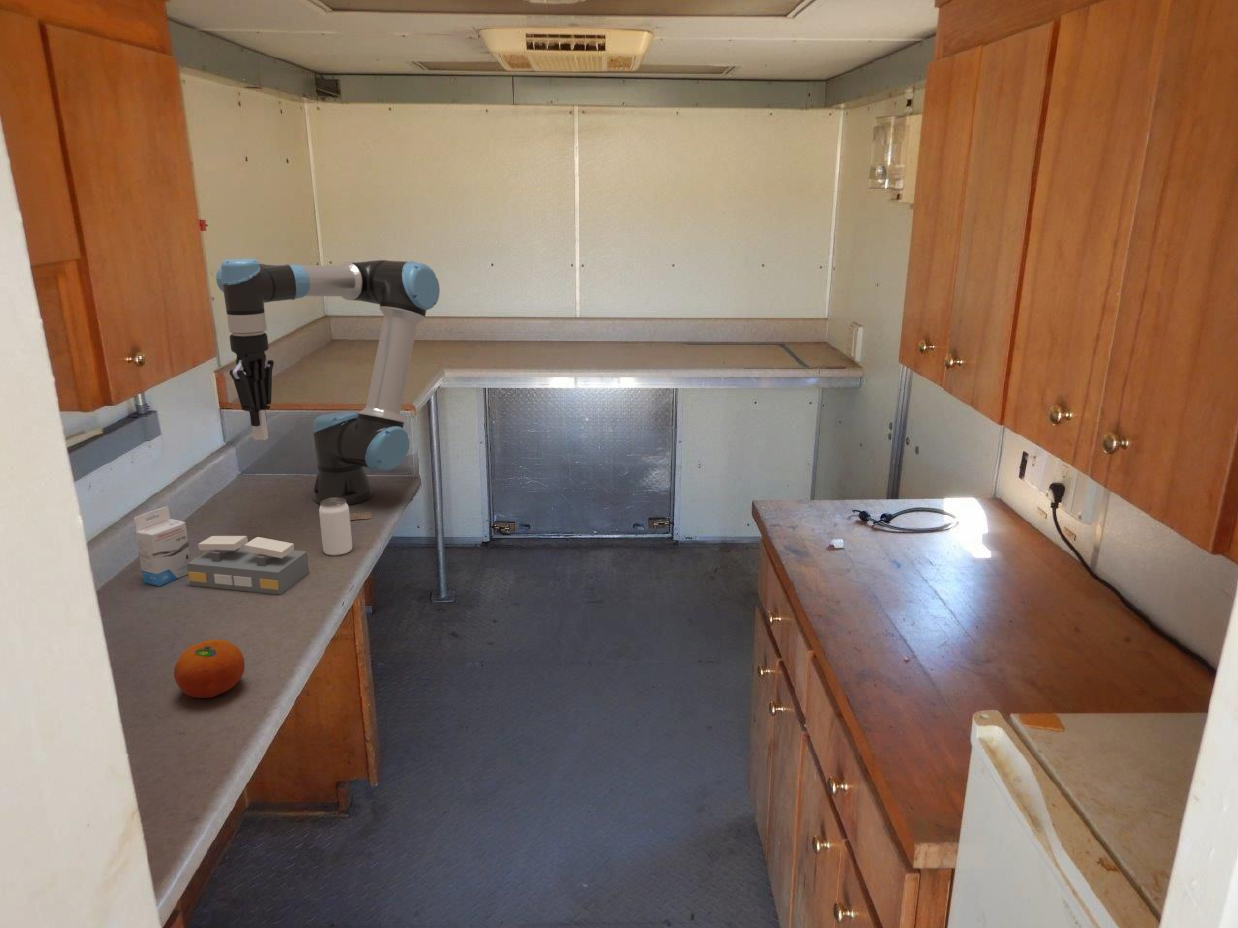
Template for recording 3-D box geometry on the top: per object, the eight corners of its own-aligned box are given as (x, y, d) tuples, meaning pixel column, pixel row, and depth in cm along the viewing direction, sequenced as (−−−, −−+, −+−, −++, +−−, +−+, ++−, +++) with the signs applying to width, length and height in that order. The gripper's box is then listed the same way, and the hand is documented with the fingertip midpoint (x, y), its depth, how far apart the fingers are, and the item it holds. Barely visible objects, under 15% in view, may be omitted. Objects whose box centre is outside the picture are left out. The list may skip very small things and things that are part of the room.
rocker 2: (257, 547, 186) (257, 536, 186) (294, 553, 185) (293, 543, 184) (244, 555, 182) (244, 544, 181) (281, 562, 181) (281, 552, 180)
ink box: (158, 587, 182) (147, 521, 178) (142, 582, 184) (131, 517, 180) (193, 572, 190) (184, 508, 185) (178, 567, 192) (168, 504, 187)
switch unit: (222, 564, 193) (218, 535, 191) (309, 572, 190) (306, 543, 187) (189, 585, 183) (184, 555, 181) (280, 595, 179) (276, 564, 177)
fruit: (196, 673, 150) (189, 631, 148) (256, 672, 150) (251, 631, 148) (166, 708, 140) (158, 664, 138) (231, 707, 140) (225, 663, 138)
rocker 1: (214, 546, 189) (212, 535, 188) (249, 546, 187) (246, 535, 186) (200, 554, 184) (198, 544, 184) (236, 554, 182) (233, 544, 182)
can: (344, 557, 198) (339, 507, 194) (317, 554, 199) (312, 505, 195) (357, 546, 204) (353, 498, 200) (332, 544, 205) (327, 496, 201)
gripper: (250, 327, 194) (262, 430, 201) (213, 337, 182) (227, 445, 189) (281, 329, 193) (292, 432, 200) (245, 338, 180) (259, 448, 187)
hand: (260, 438), depth 194 cm, fingers closed
